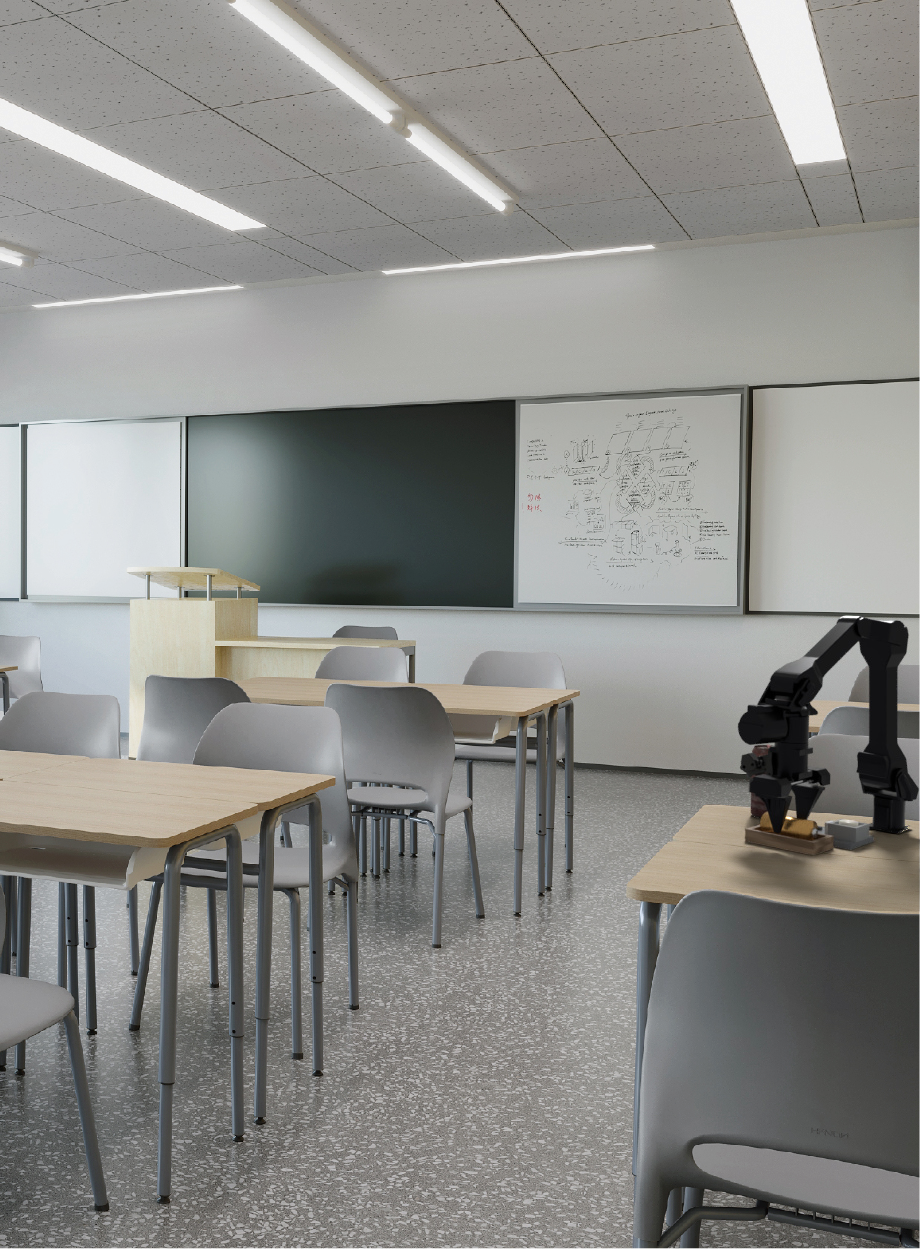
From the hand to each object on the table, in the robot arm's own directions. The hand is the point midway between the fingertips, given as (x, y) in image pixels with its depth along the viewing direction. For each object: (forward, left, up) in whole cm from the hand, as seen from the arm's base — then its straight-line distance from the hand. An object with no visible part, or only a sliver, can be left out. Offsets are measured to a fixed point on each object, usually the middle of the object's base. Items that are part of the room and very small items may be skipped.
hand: (789, 829), depth 182 cm
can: (-18, -14, -3) cm, 23 cm away
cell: (0, 0, 0) cm, 0 cm away
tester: (-9, 0, -3) cm, 10 cm away
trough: (0, 0, -3) cm, 3 cm away
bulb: (-10, +6, -1) cm, 11 cm away
